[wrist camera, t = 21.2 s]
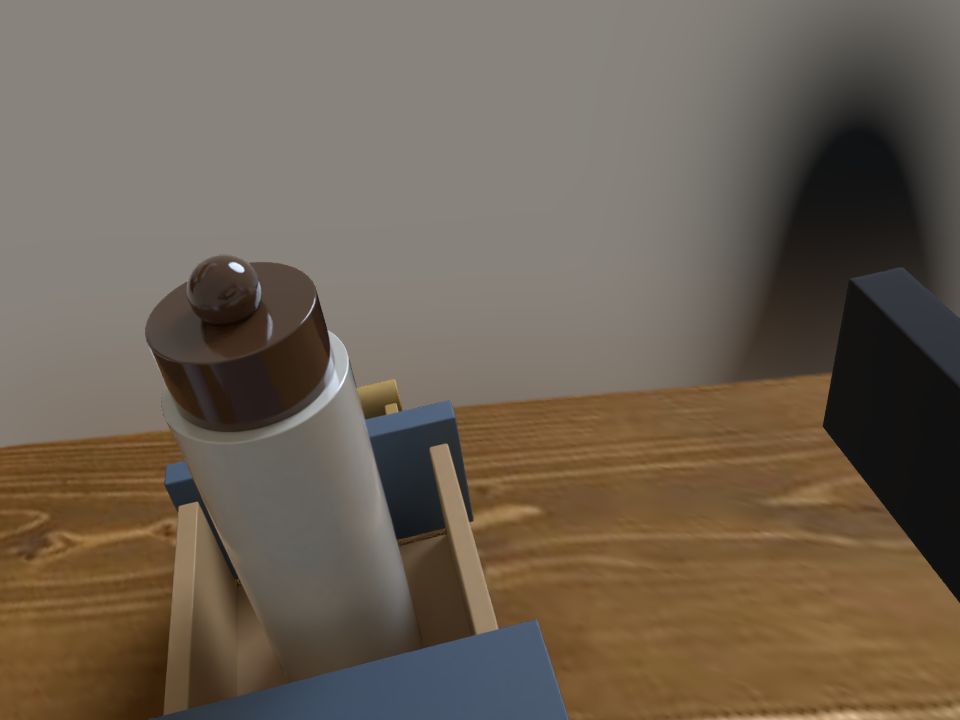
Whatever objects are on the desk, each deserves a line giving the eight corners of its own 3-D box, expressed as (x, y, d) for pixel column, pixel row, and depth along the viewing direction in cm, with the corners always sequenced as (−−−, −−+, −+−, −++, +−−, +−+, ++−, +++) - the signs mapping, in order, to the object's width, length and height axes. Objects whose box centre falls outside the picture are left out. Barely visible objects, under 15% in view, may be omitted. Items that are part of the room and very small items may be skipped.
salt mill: (411, 578, 38) (310, 192, 26) (433, 695, 33) (325, 294, 22) (281, 610, 37) (119, 231, 25) (287, 733, 33) (94, 344, 21)
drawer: (215, 491, 44) (172, 392, 40) (450, 436, 46) (431, 335, 41) (204, 913, 29) (131, 825, 25) (556, 814, 30) (543, 714, 26)
